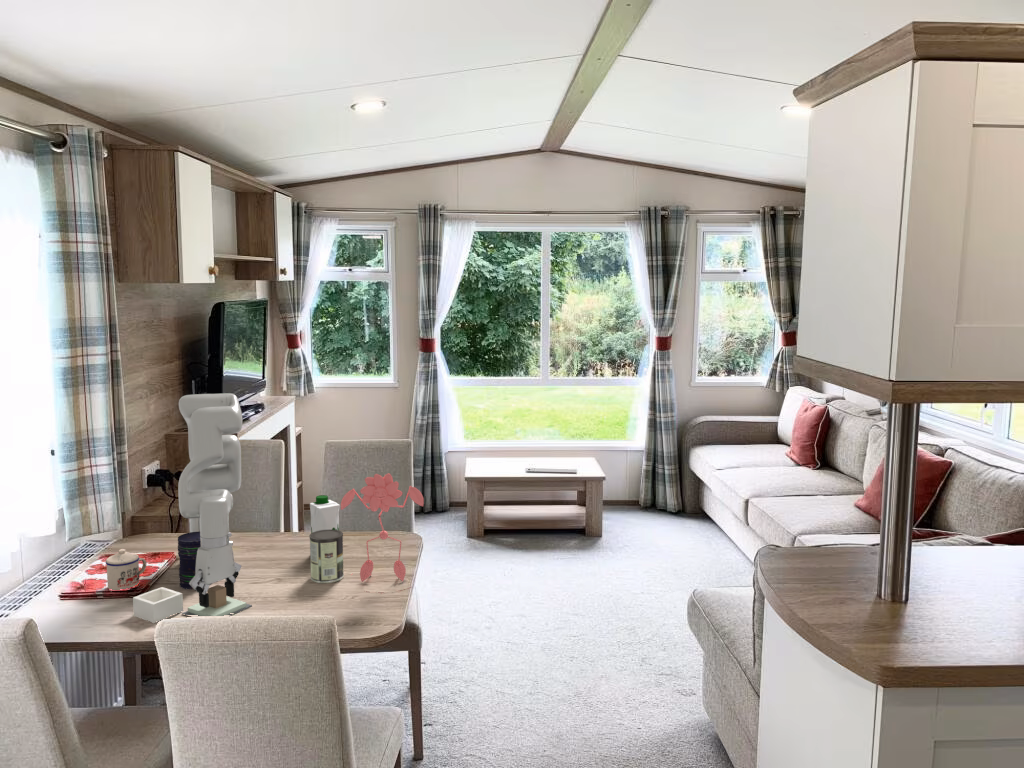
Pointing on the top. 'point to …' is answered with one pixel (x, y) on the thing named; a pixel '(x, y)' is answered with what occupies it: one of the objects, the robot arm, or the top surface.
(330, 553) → the coffee can
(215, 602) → the lid
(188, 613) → the mat
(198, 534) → the storage jar
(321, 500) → the milk carton
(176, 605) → the white open box
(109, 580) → the teacup with lid
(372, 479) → the figurine
